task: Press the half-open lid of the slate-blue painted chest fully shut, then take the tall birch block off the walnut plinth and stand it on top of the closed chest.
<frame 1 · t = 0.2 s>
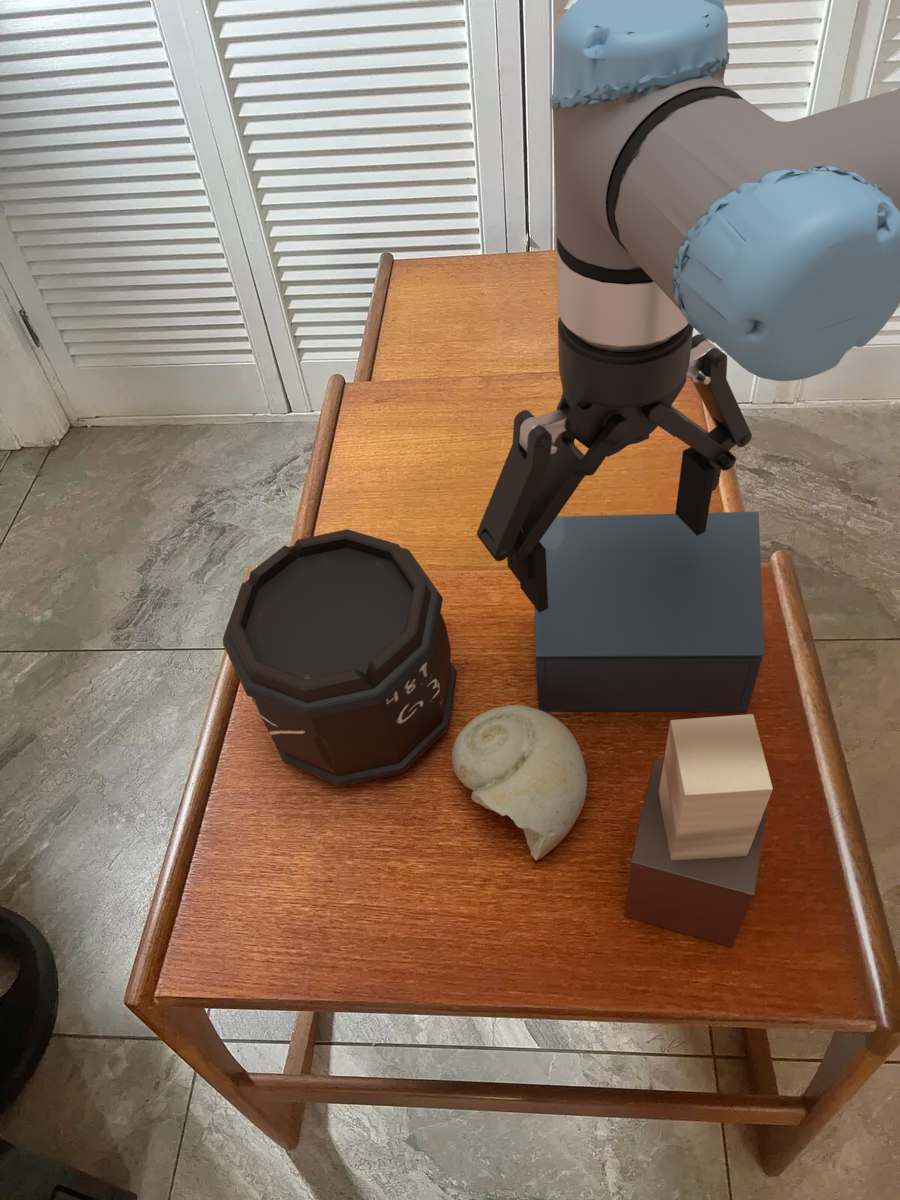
hand: (613, 560, 67), 18 cm above the table, tool pointing down, fingers open, 13 cm apart
lid: (645, 585, 73), point 12 cm above the table, hinge at 30.0°
seashell: (526, 792, 76), on the table
block: (701, 823, 61), point 11 cm above the table, touching plinth
chest: (637, 661, 83), on the table
octagonal dark pot: (360, 707, 83), on the table
plinth: (686, 881, 70), on the table
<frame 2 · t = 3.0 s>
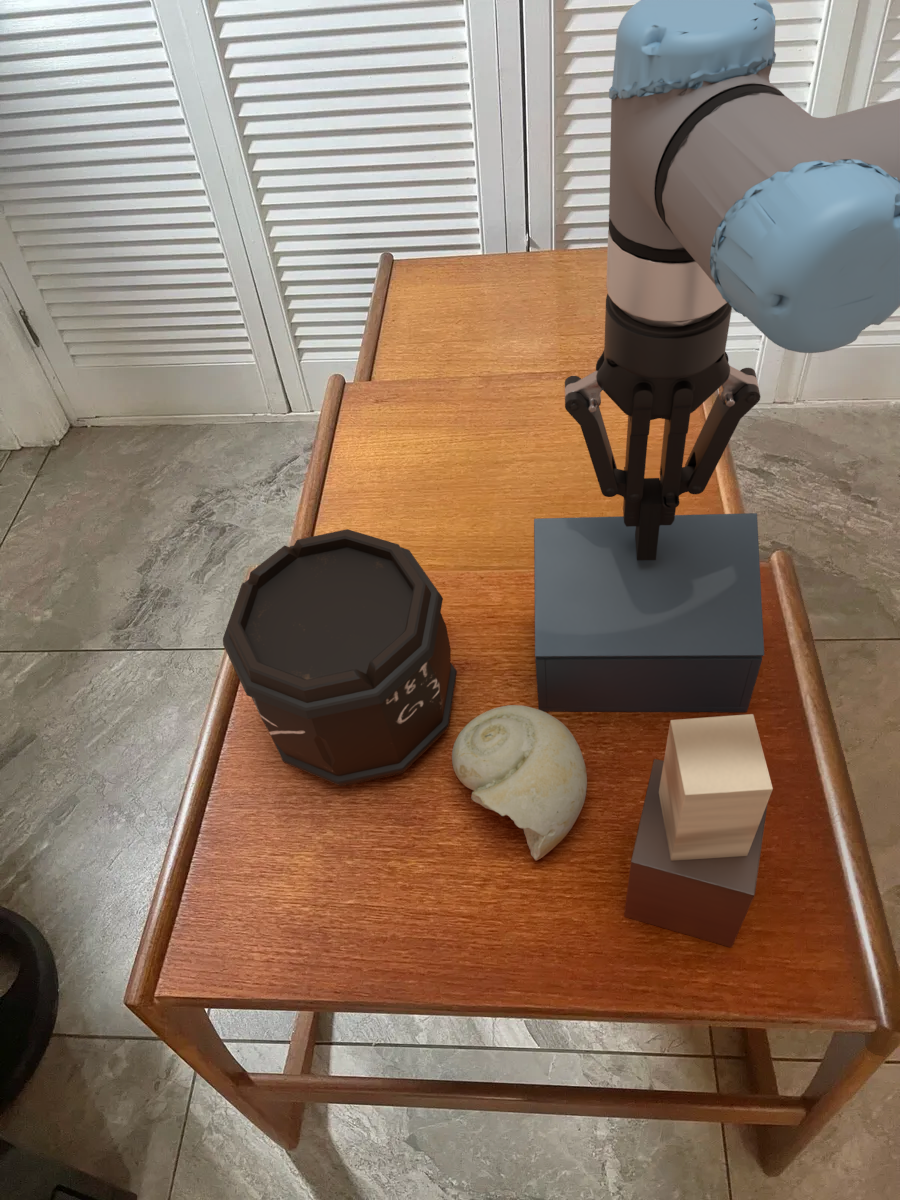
hand: (645, 547, 73), 14 cm above the table, tool pointing down, fingers closed
lid: (645, 585, 74), point 11 cm above the table, hinge at 27.1°, touching gripper
everything else where it was.
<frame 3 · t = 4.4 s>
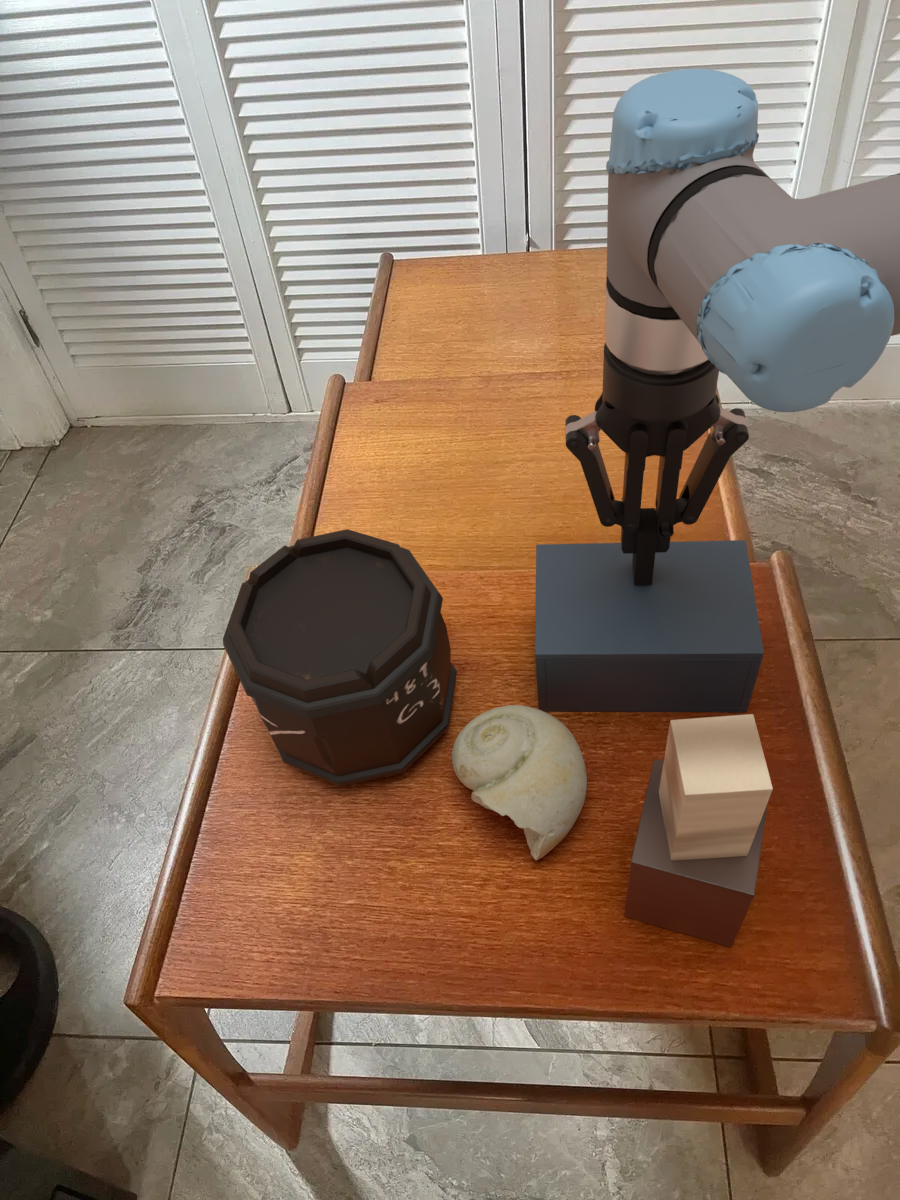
hand: (642, 572, 77), 10 cm above the table, tool pointing down, fingers closed
lid: (643, 598, 76), point 9 cm above the table, hinge at 1.4°, touching gripper
everything else where it was.
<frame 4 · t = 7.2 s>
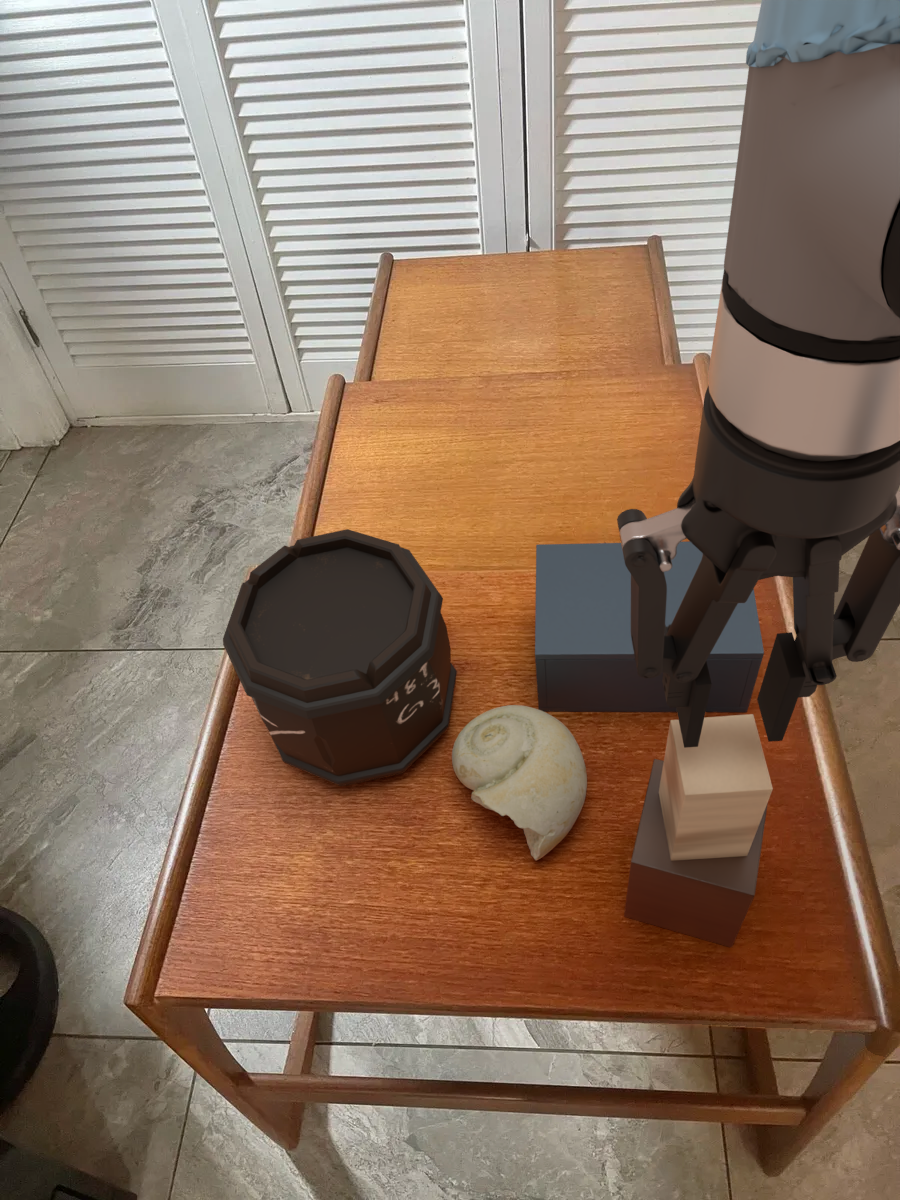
hand: (728, 722, 51), 25 cm above the table, tool pointing down, fingers open, 4 cm apart
lid: (643, 598, 76), point 9 cm above the table, hinge at 1.4°
everything else where it was.
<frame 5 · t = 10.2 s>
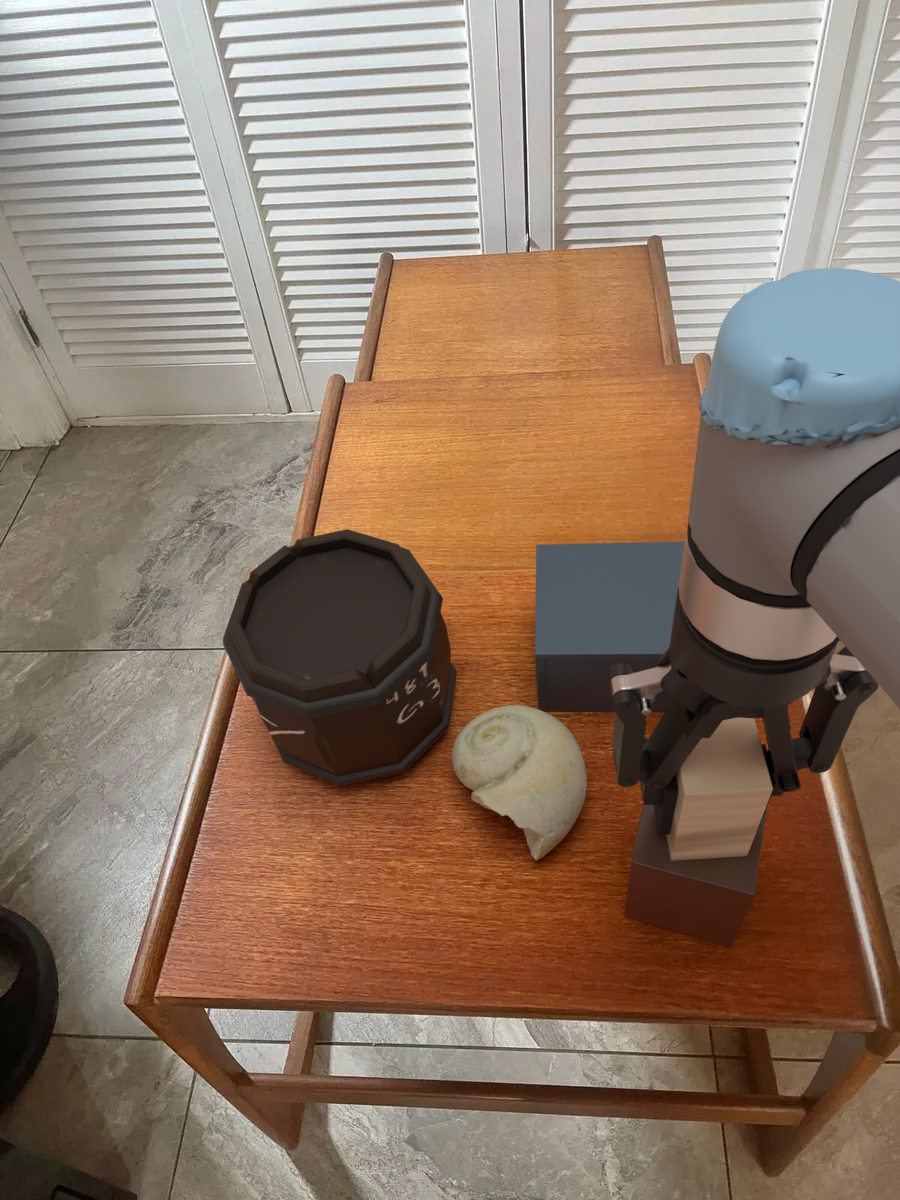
hand: (704, 812, 60), 13 cm above the table, tool pointing down, fingers closed on block, 5 cm apart
block: (701, 823, 61), point 11 cm above the table, touching gripper, plinth
everything else where it was.
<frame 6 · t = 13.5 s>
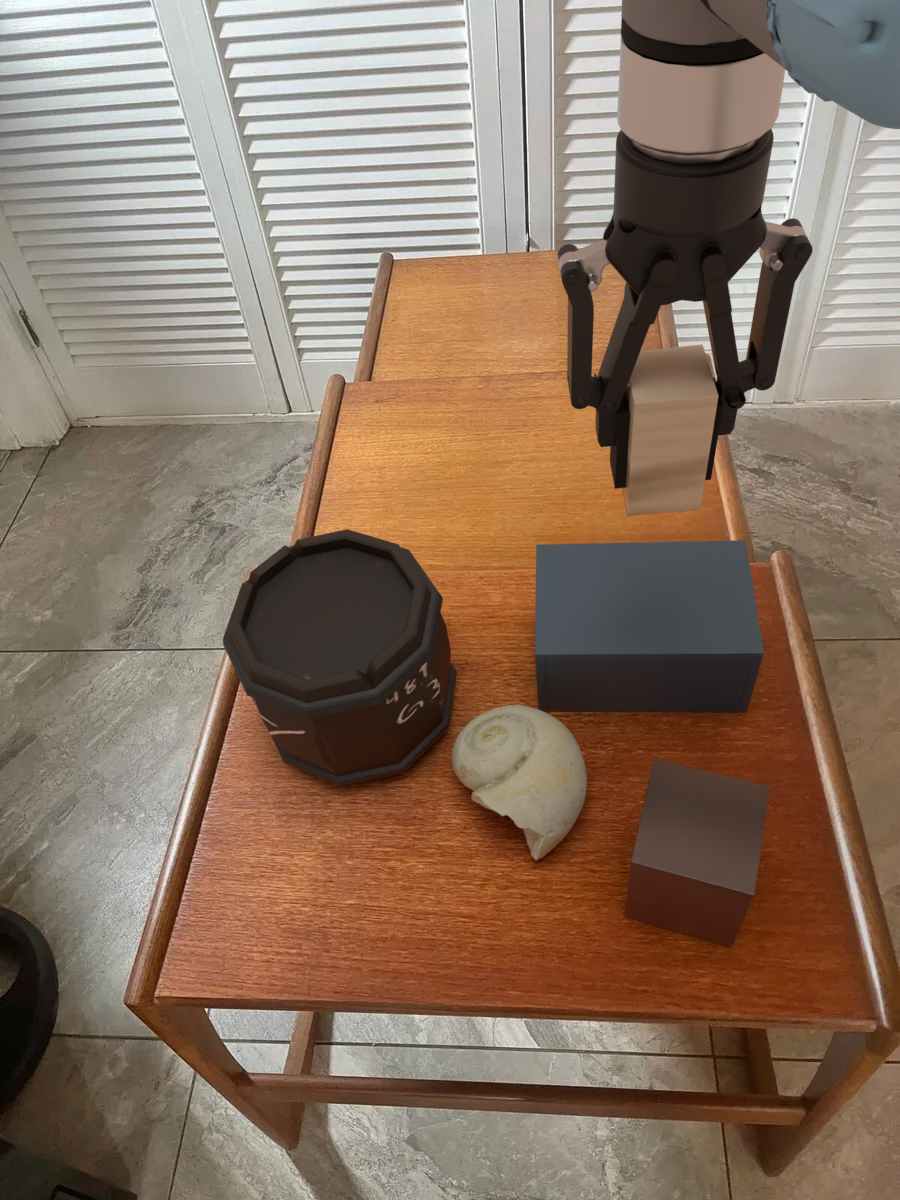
hand: (659, 469, 62), 25 cm above the table, tool pointing down, fingers closed on block, 5 cm apart
block: (657, 487, 64), point 24 cm above the table, touching gripper
everything else where it was.
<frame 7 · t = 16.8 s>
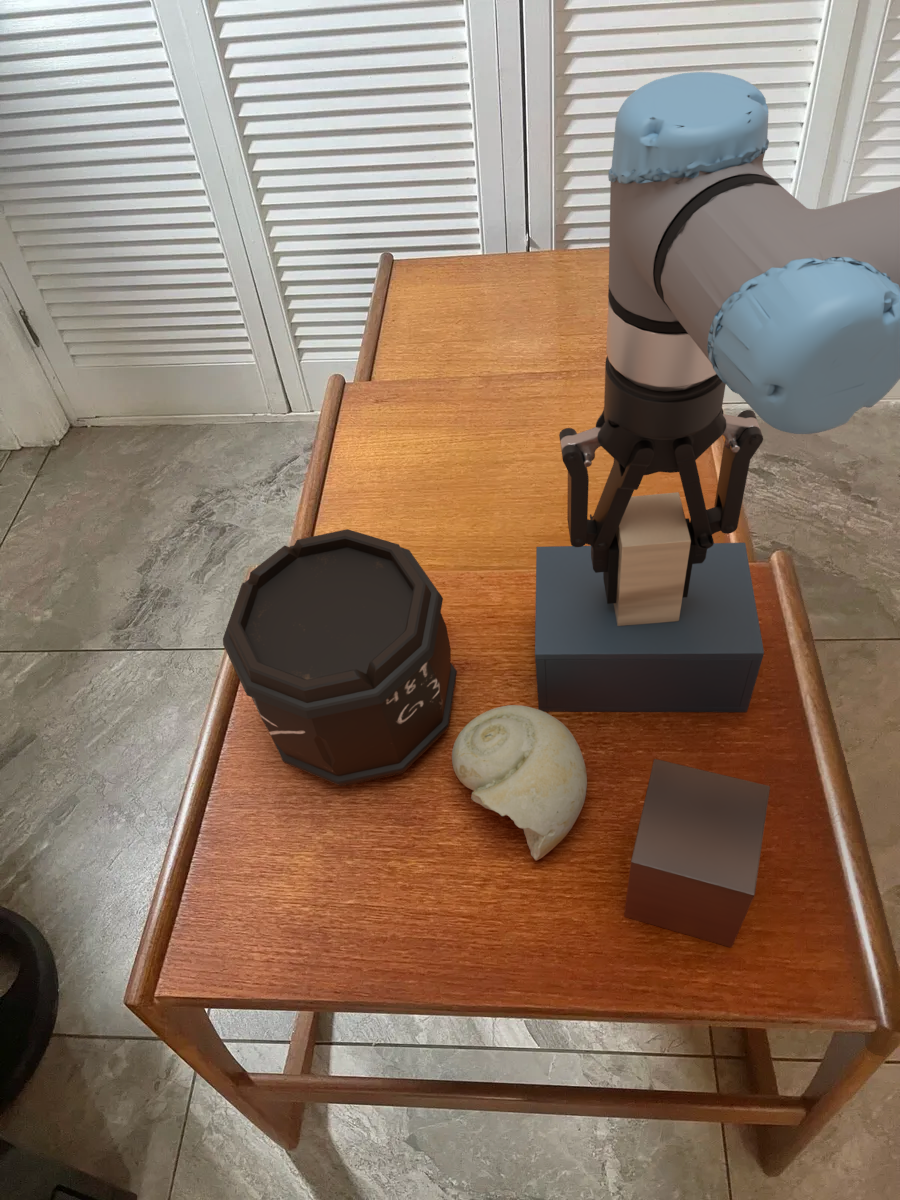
hand: (644, 587, 74), 11 cm above the table, tool pointing down, fingers closed on block, 5 cm apart
lid: (643, 599, 76), point 9 cm above the table, hinge at -0.2°, touching block
block: (643, 599, 76), point 9 cm above the table, touching gripper, lid
everything else where it was.
when the fingers open (11 cm above the table, at t = 16.9 s): block stays where it is, resting on lid.
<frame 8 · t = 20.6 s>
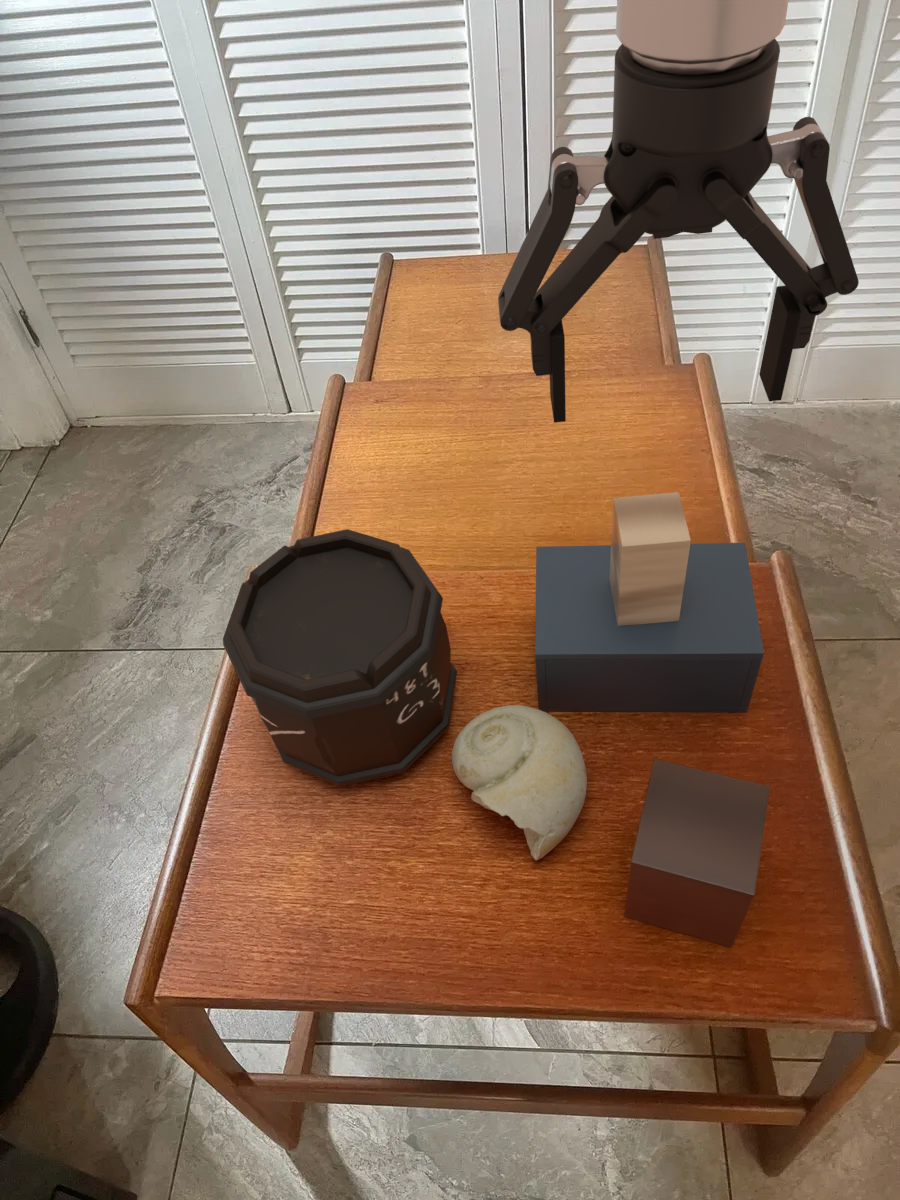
hand: (662, 398, 59), 31 cm above the table, tool pointing down, fingers open, 13 cm apart
block: (643, 599, 76), point 9 cm above the table, touching lid
everything else where it was.
at the end: lid at +0° (first picture: +30°); block inside the target area on the chest (0.0 cm from its centre), point 9.1 cm above the chest's base; block tilted 0° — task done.
